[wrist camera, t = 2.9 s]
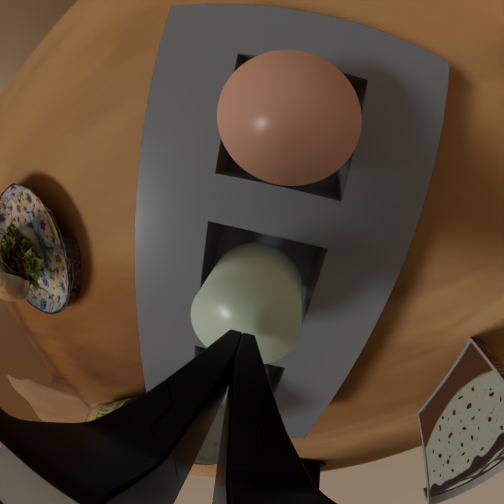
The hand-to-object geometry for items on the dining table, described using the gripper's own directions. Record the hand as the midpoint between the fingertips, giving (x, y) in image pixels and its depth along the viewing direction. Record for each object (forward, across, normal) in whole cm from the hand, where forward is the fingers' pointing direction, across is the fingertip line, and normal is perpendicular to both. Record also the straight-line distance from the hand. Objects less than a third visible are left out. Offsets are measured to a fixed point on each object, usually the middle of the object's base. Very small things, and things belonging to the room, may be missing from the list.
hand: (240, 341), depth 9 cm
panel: (+7, 0, 0) cm, 7 cm away
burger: (+7, +19, +4) cm, 21 cm away
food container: (+7, -20, +7) cm, 22 cm away
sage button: (+4, 0, 0) cm, 4 cm away
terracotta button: (+4, 0, -7) cm, 8 cm away
